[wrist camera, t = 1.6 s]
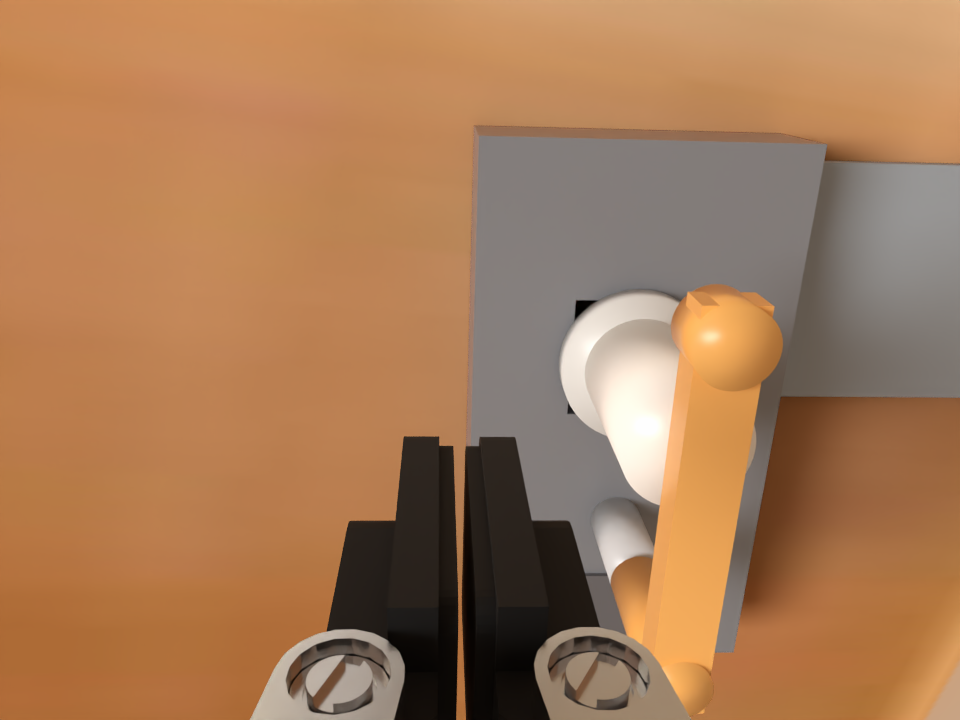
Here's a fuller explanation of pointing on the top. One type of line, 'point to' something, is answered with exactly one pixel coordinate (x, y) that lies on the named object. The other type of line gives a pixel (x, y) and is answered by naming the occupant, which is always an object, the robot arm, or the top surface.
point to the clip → (700, 485)
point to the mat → (880, 285)
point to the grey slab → (613, 268)
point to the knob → (626, 379)
